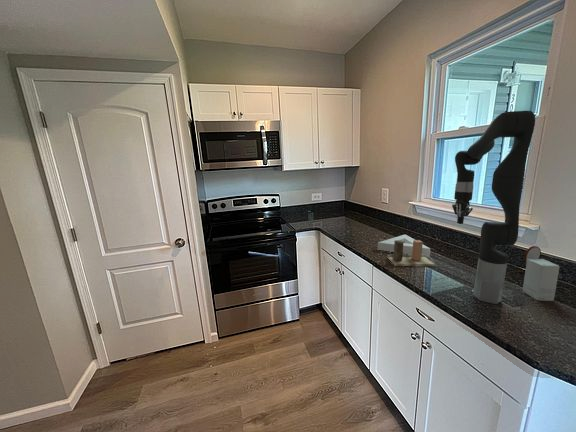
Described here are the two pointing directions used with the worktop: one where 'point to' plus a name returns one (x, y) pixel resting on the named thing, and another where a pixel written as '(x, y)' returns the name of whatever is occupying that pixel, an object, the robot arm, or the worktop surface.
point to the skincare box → (540, 279)
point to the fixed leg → (398, 250)
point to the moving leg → (417, 250)
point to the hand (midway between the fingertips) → (460, 223)
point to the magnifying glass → (532, 253)
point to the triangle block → (407, 245)
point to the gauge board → (411, 261)
